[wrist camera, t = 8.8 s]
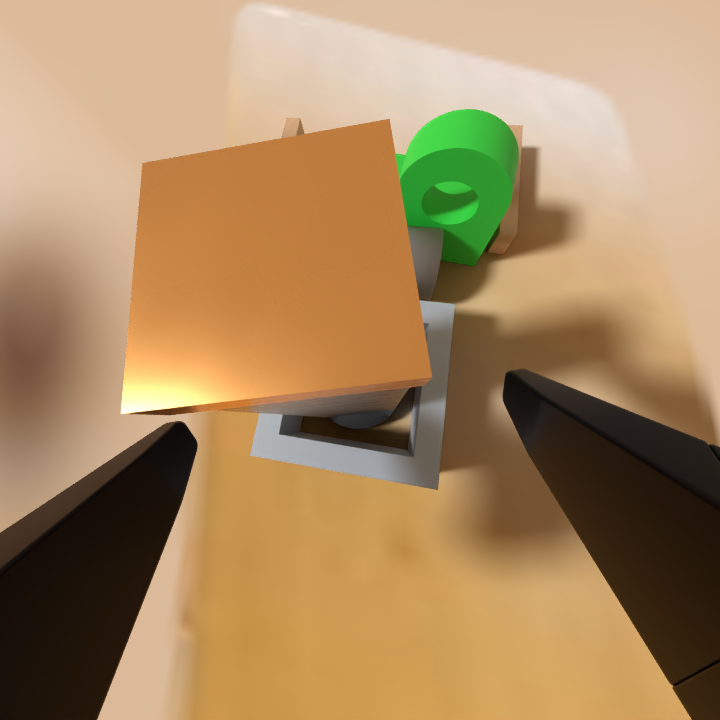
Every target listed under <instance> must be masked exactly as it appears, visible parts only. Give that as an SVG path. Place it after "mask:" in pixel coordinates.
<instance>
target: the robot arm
mask: <svg viewBox="0 0 720 720" xmlns="http://www.w3.org/2000/svg"><path fill="white" fill-rule="evenodd" d="M503 401H504V404H505V406H506V409H507V411H508V413H509V415H510V417H511V419H512V421H513V423H514V425H515V428H516V430H517V432H518V434H519V436H520V438H521V440H522V442H523V444H524V446H525V448H526V450H527V452H528V454H529V456H530V458H531V459H532V461H533V463H534V464H535V466H536V468H537V469H538V471H539V472H540V474H541V476H542V477H543V479H544V481H545V482H546V484H547V485H548V487H549V489H550V490H551V492H552V494H553V495H554V497H555V498H556V500H557V502H558V503H559V505H560V506H561V508H562V510H563V511H564V513H565V515H566V516H567V518H568V519H569V521H570V523H571V524H572V526H573V528H574V529H575V531H576V532H577V534H578V536H579V537H580V539H581V540H582V542H583V544H584V545H585V547H586V549H587V550H588V552H589V553H590V555H591V557H592V558H593V560H594V562H595V563H596V565H597V566H598V568H599V570H600V571H601V573H602V574H603V576H604V578H605V579H606V581H607V583H608V584H609V586H610V587H611V589H612V591H613V592H614V594H615V596H616V597H617V599H618V600H619V602H620V604H621V605H622V607H623V608H624V610H625V612H626V613H627V615H628V617H629V618H630V620H631V621H632V623H633V625H634V626H635V628H636V629H637V631H638V633H639V634H640V636H641V638H642V639H643V641H644V642H645V644H646V646H647V647H648V649H649V651H650V652H651V654H652V655H653V657H654V659H655V660H656V662H657V663H658V665H659V667H660V668H661V670H662V672H663V673H664V675H665V676H666V678H667V680H668V681H669V683H670V684H671V685H673V690H674V692H675V693H676V695H677V696H678V698H679V700H680V701H681V703H682V705H683V706H684V708H685V709H686V711H687V713H688V714H689V716H690V717H691V719H692V720H720V447H718V446H716V445H713V444H710V445H708V444H707V442H705V441H703V440H700V439H698V438H695V437H693V436H690V435H688V434H685V433H683V432H680V431H678V430H675V429H673V428H670V427H668V426H665V425H663V424H660V423H658V422H655V421H653V420H650V419H648V418H645V417H643V416H640V415H638V414H635V413H633V412H630V411H628V410H625V409H623V408H620V407H618V406H616V405H613V404H611V403H608V402H606V401H603V400H601V399H598V398H596V397H593V396H591V395H588V394H586V393H583V392H581V391H578V390H576V389H573V388H571V387H568V386H566V385H563V384H561V383H558V382H556V381H553V380H551V379H548V378H546V377H543V376H541V375H538V374H536V373H533V372H531V371H528V370H526V369H518V370H511V371H508V372H507V373H506V375H505V381H504V389H503ZM197 446H198V445H197V441H196V439H195V437H194V436H193V434H192V433H191V431H190V430H189V429H188V427H187V426H186V424H185V423H184V422H181V421H176V422H169V423H166V424H164V425H162V426H161V427H159V428H158V429H156V430H155V431H153V432H152V433H150V434H149V435H147V436H146V437H144V438H143V439H141V440H140V441H138V442H137V443H135V444H134V445H132V446H130V447H129V448H127V449H126V450H124V451H123V452H121V453H120V454H118V455H117V456H115V457H114V458H112V459H111V460H110V461H108V462H106V463H105V464H103V465H102V466H101V467H99V468H97V469H96V470H94V471H93V472H91V473H90V474H88V475H87V476H85V477H84V478H82V479H81V480H79V481H78V482H76V483H75V484H73V485H72V486H70V487H69V488H67V489H66V490H64V491H63V492H61V493H60V494H58V495H57V496H55V497H54V498H52V499H51V500H49V501H48V502H46V503H45V504H43V505H42V506H40V507H39V508H37V509H35V510H34V511H33V512H31V513H30V514H28V515H27V516H25V517H24V518H22V519H20V520H19V521H18V522H16V523H15V524H13V525H12V526H10V527H8V528H7V529H5V530H4V531H2V532H1V533H0V720H97V719H98V716H99V714H100V711H101V708H102V706H103V703H104V701H105V698H106V696H107V693H108V691H109V688H110V685H111V683H112V680H113V678H114V675H115V673H116V670H117V667H118V665H119V662H120V660H121V657H122V655H123V652H124V649H125V647H126V644H127V642H128V639H129V636H130V634H131V632H132V629H133V626H134V624H135V621H136V619H137V616H138V614H139V611H140V609H141V606H142V603H143V601H144V598H145V596H146V593H147V591H148V588H149V586H150V583H151V580H152V578H153V575H154V573H155V570H156V567H157V565H158V562H159V560H160V557H161V555H162V552H163V550H164V547H165V545H166V542H167V539H168V537H169V534H170V532H171V529H172V527H173V524H174V521H175V519H176V516H177V514H178V511H179V509H180V506H181V503H182V500H183V497H184V494H185V490H186V487H187V483H188V480H189V476H190V473H191V469H192V466H193V462H194V459H195V455H196V452H197Z"/></svg>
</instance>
